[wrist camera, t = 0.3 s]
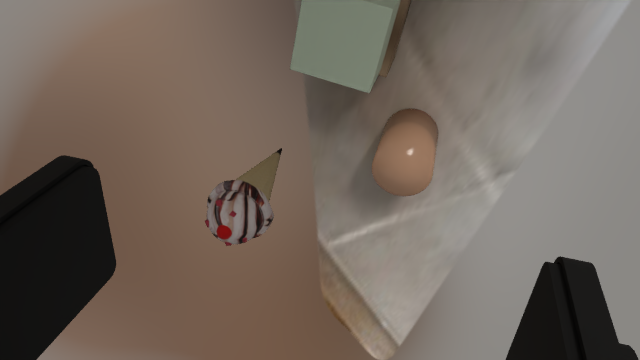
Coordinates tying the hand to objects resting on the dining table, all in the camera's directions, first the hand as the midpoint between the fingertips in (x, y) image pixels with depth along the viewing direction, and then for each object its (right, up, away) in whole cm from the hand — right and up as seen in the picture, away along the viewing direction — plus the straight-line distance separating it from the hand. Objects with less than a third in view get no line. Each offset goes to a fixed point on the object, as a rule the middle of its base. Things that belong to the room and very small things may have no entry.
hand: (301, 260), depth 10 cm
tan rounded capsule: (+9, +6, +37) cm, 38 cm away
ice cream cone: (-4, +5, +41) cm, 42 cm away
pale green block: (+3, +14, +28) cm, 31 cm away
